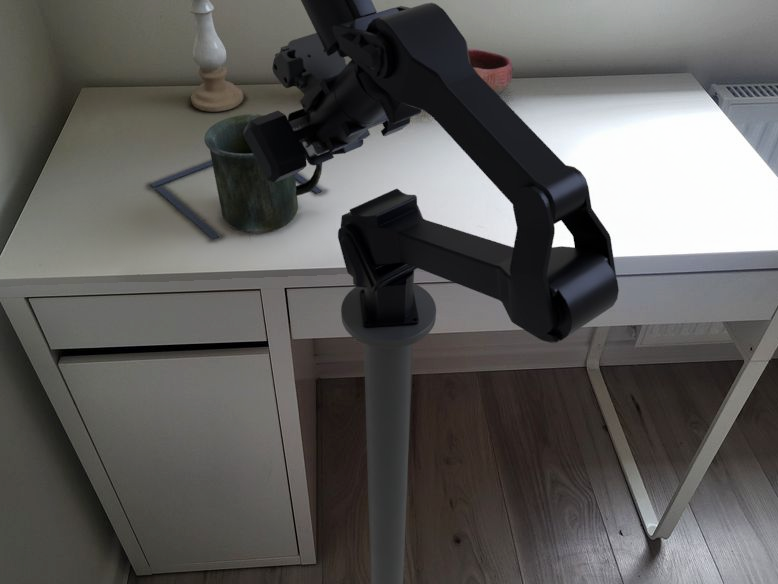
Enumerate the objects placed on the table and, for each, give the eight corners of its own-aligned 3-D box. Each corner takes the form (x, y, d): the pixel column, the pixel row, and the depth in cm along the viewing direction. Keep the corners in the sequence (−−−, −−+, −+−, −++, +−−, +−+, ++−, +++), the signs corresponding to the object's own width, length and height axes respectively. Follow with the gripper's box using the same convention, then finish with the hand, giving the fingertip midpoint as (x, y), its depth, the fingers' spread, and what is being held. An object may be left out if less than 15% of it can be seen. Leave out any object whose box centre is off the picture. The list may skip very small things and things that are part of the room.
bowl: (430, 81, 127) (433, 36, 122) (501, 79, 128) (506, 33, 123) (444, 124, 116) (447, 77, 110) (521, 121, 117) (528, 73, 111)
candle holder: (192, 91, 124) (167, -35, 110) (242, 87, 125) (224, -38, 111) (191, 114, 118) (164, -16, 104) (244, 110, 119) (225, -20, 105)
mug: (221, 194, 101) (206, 115, 93) (323, 188, 102) (318, 109, 94) (217, 239, 93) (201, 158, 85) (328, 232, 95) (322, 151, 86)
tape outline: (322, 191, 102) (322, 190, 102) (213, 239, 94) (212, 238, 93) (255, 144, 111) (255, 143, 111) (150, 185, 103) (150, 183, 103)
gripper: (395, -5, 72) (335, 67, 86) (239, 42, 64) (199, 114, 78) (444, 96, 74) (376, 151, 88) (297, 155, 65) (248, 206, 79)
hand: (303, 153), depth 83 cm, fingers closed
